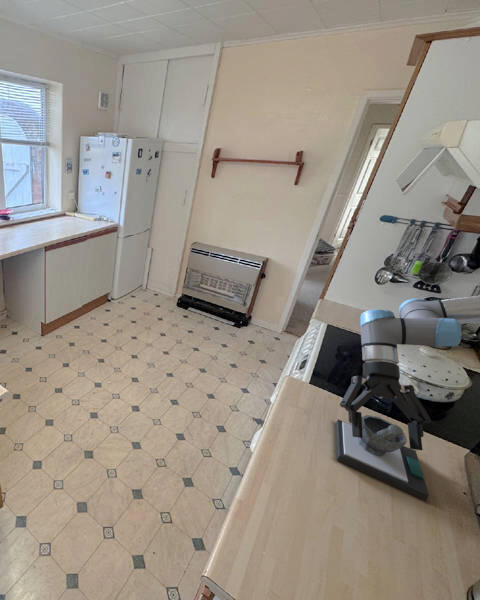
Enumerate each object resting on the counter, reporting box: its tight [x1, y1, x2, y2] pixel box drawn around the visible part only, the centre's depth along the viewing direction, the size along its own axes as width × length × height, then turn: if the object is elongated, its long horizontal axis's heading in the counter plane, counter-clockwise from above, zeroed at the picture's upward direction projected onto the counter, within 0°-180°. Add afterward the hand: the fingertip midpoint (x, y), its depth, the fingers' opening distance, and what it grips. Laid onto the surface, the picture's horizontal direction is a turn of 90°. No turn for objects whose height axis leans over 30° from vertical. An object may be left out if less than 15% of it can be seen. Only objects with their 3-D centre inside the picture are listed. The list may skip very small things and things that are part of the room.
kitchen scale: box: [334, 419, 430, 502], centre depth 88 cm, size 18×16×3 cm
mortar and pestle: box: [357, 414, 408, 456], centre depth 86 cm, size 11×9×12 cm
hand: (386, 443), depth 84 cm, fingers open, 13 cm apart
